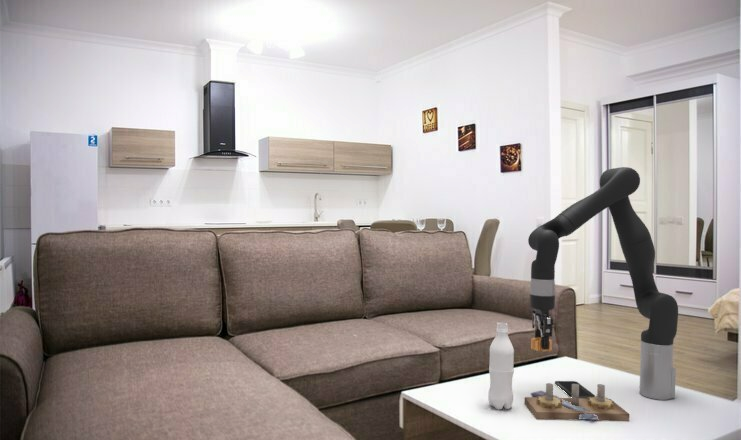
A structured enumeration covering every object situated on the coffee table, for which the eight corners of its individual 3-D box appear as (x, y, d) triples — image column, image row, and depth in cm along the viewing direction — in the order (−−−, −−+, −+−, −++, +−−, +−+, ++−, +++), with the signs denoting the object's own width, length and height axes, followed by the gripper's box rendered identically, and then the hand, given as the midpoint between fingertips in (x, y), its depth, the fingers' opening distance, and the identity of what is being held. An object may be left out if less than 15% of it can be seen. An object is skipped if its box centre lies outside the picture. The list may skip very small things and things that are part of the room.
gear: (548, 346, 169) (548, 337, 169) (554, 351, 162) (554, 342, 162) (528, 346, 169) (528, 336, 169) (534, 351, 163) (534, 341, 163)
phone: (571, 396, 166) (553, 380, 181) (571, 399, 166) (553, 384, 181) (596, 396, 166) (576, 381, 181) (596, 400, 166) (576, 384, 181)
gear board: (610, 405, 161) (610, 379, 160) (629, 421, 149) (630, 392, 148) (524, 403, 161) (525, 377, 161) (536, 419, 149) (537, 390, 149)
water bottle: (496, 400, 163) (498, 319, 162) (517, 407, 158) (519, 323, 157) (483, 406, 158) (485, 323, 157) (504, 413, 153) (506, 327, 152)
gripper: (562, 297, 158) (561, 352, 158) (547, 289, 172) (546, 341, 173) (537, 296, 158) (536, 352, 159) (524, 289, 173) (523, 340, 173)
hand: (541, 346), depth 166 cm, fingers closed on gear, 6 cm apart
